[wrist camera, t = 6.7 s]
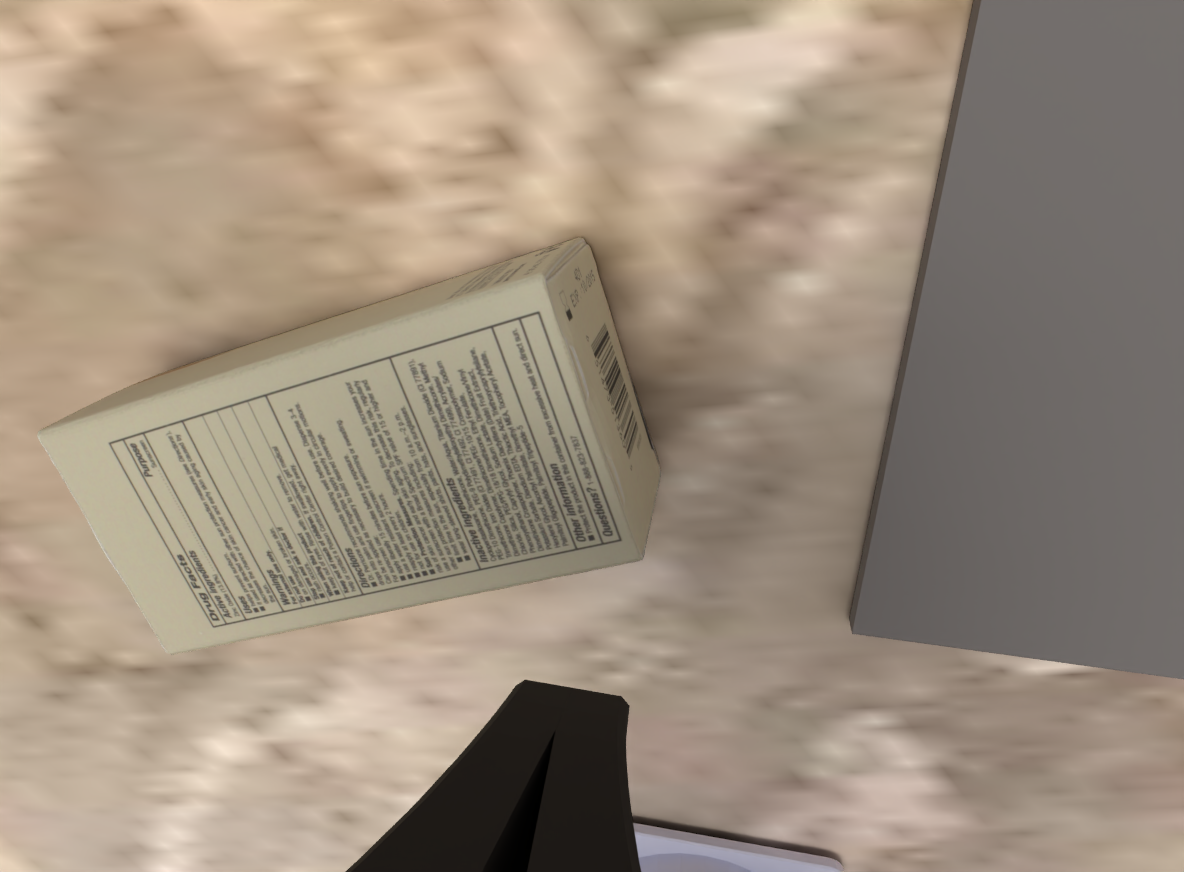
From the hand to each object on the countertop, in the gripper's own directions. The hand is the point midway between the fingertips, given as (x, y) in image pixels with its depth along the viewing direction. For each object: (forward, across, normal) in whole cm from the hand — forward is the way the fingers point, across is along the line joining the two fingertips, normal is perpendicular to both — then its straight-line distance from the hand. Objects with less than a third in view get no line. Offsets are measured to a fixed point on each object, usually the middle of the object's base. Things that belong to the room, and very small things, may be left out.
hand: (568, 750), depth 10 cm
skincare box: (+8, 0, -2) cm, 8 cm away
